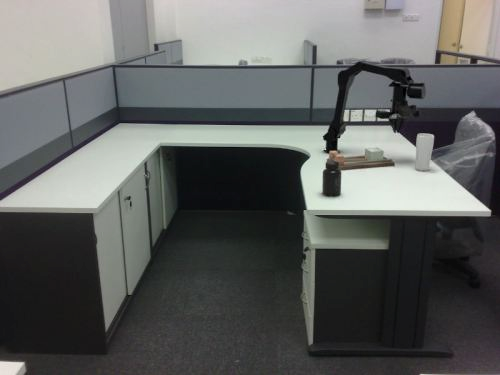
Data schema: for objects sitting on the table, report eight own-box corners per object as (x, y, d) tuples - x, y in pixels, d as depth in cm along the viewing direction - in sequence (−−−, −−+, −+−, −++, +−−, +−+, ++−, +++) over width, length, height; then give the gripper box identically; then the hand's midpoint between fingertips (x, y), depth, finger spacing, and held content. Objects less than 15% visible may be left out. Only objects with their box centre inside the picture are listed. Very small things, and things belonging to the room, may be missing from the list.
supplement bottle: (338, 190, 176) (340, 159, 173) (342, 196, 170) (344, 164, 166) (320, 190, 176) (321, 160, 172) (323, 197, 170) (324, 165, 166)
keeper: (364, 158, 212) (365, 148, 210) (376, 157, 213) (377, 147, 211) (370, 161, 206) (371, 151, 205) (383, 160, 207) (383, 150, 206)
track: (326, 161, 213) (327, 150, 211) (379, 157, 218) (380, 146, 216) (338, 170, 200) (339, 158, 198) (394, 165, 205) (395, 153, 203)
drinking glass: (419, 172, 195) (423, 137, 190) (410, 168, 201) (413, 134, 196) (433, 171, 197) (437, 136, 192) (424, 166, 203) (427, 132, 198)
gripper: (388, 101, 193) (385, 138, 198) (429, 99, 197) (425, 135, 202) (376, 97, 203) (373, 132, 209) (415, 95, 207) (411, 130, 212)
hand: (396, 132), depth 208 cm, fingers closed
